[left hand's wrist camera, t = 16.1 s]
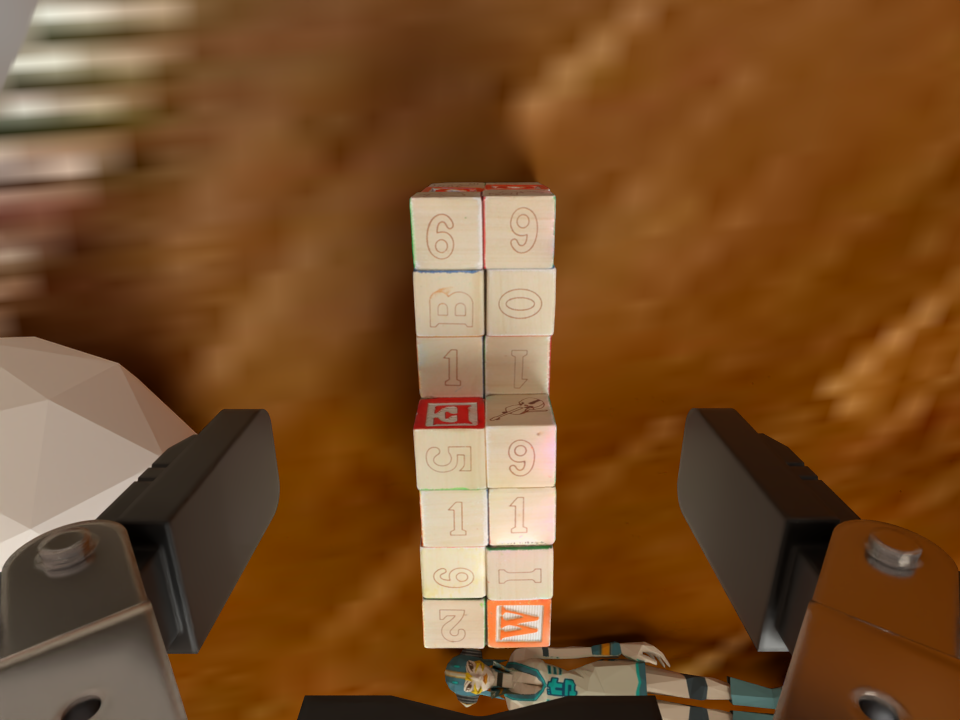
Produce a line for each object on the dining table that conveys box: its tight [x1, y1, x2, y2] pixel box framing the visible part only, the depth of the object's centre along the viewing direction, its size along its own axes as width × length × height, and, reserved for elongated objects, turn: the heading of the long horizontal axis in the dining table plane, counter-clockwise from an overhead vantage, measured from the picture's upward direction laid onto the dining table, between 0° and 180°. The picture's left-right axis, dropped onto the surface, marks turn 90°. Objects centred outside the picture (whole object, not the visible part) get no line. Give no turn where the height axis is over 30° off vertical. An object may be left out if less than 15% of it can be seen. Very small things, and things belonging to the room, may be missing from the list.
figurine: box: [445, 641, 783, 720], centre depth 42 cm, size 7×8×30 cm
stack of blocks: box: [410, 182, 557, 648], centre depth 30 cm, size 21×6×12 cm, turn 0°
